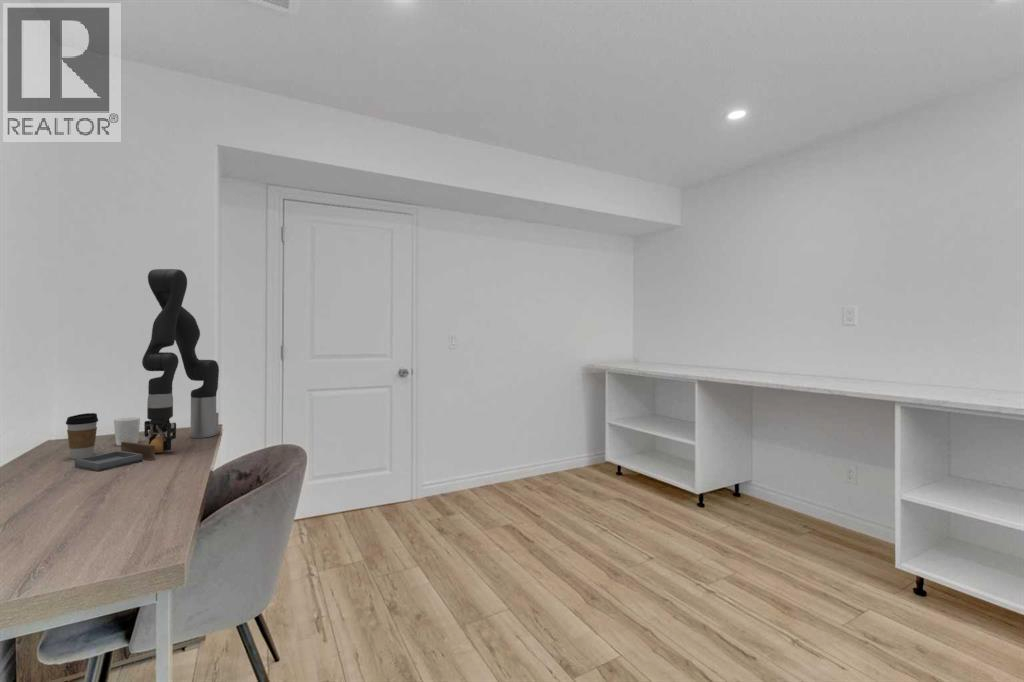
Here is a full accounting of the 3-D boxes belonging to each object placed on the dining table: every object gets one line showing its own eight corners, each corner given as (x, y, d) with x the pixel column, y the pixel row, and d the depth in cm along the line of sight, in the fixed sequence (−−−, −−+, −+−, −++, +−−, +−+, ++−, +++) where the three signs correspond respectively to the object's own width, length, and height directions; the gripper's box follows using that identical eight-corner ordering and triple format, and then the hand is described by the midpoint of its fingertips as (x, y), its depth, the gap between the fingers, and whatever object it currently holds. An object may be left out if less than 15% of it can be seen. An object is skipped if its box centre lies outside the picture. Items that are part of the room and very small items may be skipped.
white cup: (118, 442, 180) (118, 417, 180) (142, 440, 184) (142, 416, 184) (110, 446, 173) (110, 421, 173) (136, 445, 177) (136, 420, 176)
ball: (163, 449, 170) (163, 434, 170) (174, 451, 168) (174, 435, 168) (146, 453, 164) (146, 437, 164) (156, 455, 162) (157, 439, 162)
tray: (119, 457, 159) (119, 450, 159) (142, 461, 155) (142, 454, 155) (74, 467, 147) (74, 459, 147) (98, 471, 143) (98, 463, 143)
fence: (125, 454, 162) (125, 441, 162) (154, 459, 157) (154, 445, 157) (121, 455, 161) (121, 442, 161) (150, 460, 156) (150, 446, 156)
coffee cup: (104, 454, 163) (104, 413, 163) (80, 460, 154) (80, 417, 154) (84, 453, 164) (84, 412, 164) (58, 459, 155) (58, 416, 155)
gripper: (184, 405, 167) (183, 449, 167) (158, 403, 172) (157, 445, 172) (162, 408, 160) (162, 454, 160) (136, 405, 165) (135, 450, 165)
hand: (159, 449), depth 166 cm, fingers open, 7 cm apart
